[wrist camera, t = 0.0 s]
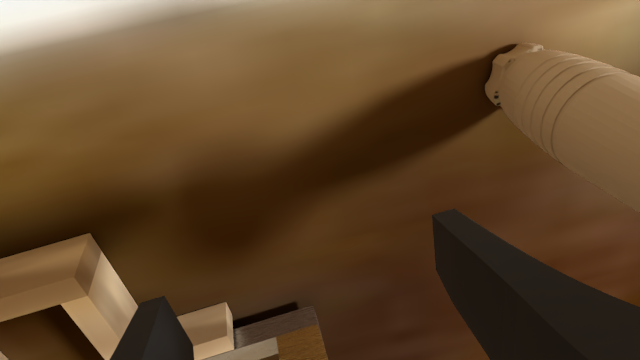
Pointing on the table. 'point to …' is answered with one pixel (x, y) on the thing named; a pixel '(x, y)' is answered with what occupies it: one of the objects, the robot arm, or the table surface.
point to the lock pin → (279, 338)
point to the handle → (574, 113)
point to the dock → (94, 297)
